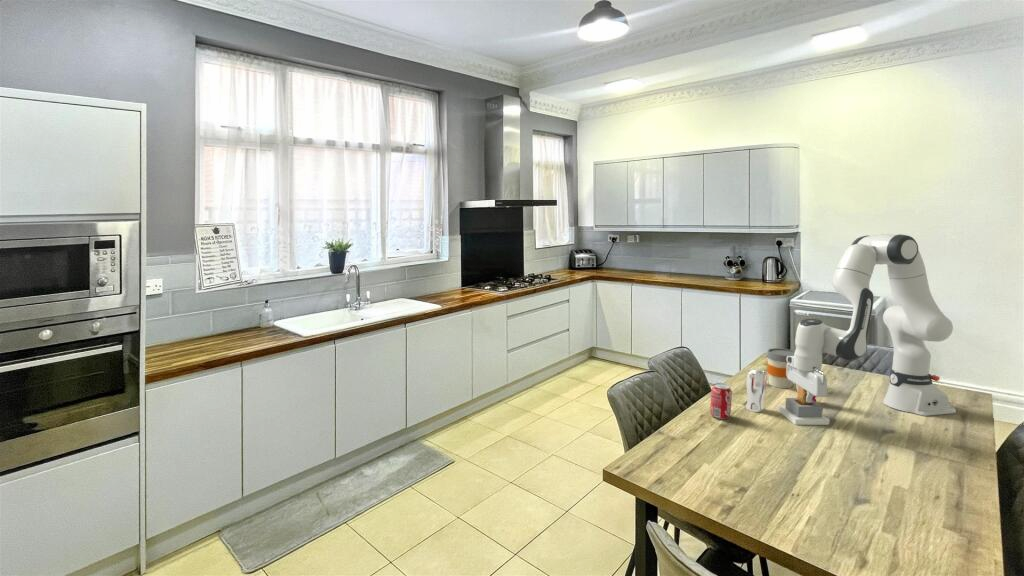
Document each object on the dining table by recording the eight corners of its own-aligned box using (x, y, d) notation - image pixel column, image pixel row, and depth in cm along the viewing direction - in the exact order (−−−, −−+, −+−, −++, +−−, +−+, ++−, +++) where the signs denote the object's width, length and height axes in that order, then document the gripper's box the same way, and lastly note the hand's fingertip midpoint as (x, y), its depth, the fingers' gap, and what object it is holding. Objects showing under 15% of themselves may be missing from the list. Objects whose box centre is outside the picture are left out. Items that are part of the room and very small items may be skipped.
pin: (805, 407, 182) (807, 381, 181) (810, 410, 179) (812, 384, 178) (796, 407, 182) (798, 381, 181) (801, 410, 179) (803, 384, 178)
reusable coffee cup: (789, 380, 221) (791, 348, 219) (802, 390, 209) (805, 356, 207) (760, 379, 222) (762, 347, 220) (771, 389, 210) (774, 355, 208)
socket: (809, 411, 187) (810, 396, 186) (829, 424, 175) (830, 408, 174) (777, 411, 187) (779, 396, 186) (795, 424, 176) (796, 408, 175)
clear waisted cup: (764, 407, 191) (766, 370, 189) (764, 413, 185) (767, 375, 183) (744, 404, 194) (746, 368, 192) (744, 410, 188) (747, 373, 186)
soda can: (729, 414, 185) (731, 383, 183) (731, 421, 179) (733, 390, 177) (709, 411, 187) (711, 381, 186) (710, 418, 181) (712, 387, 179)
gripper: (834, 372, 168) (830, 410, 170) (800, 355, 188) (797, 389, 190) (815, 372, 168) (812, 410, 170) (784, 355, 188) (781, 389, 190)
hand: (804, 399), depth 180 cm, fingers closed on pin, 3 cm apart
